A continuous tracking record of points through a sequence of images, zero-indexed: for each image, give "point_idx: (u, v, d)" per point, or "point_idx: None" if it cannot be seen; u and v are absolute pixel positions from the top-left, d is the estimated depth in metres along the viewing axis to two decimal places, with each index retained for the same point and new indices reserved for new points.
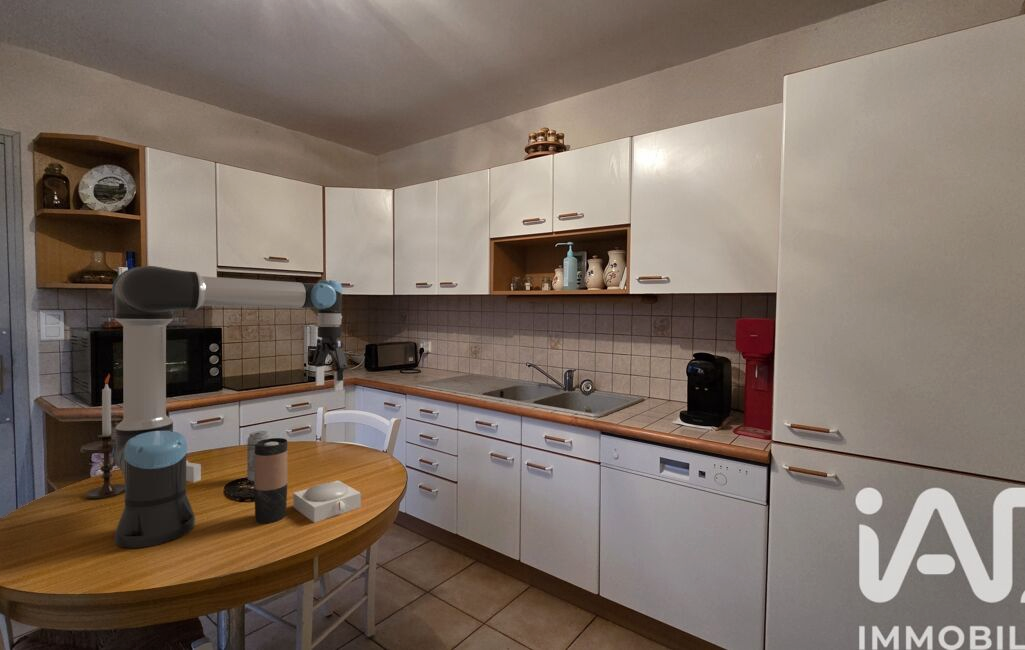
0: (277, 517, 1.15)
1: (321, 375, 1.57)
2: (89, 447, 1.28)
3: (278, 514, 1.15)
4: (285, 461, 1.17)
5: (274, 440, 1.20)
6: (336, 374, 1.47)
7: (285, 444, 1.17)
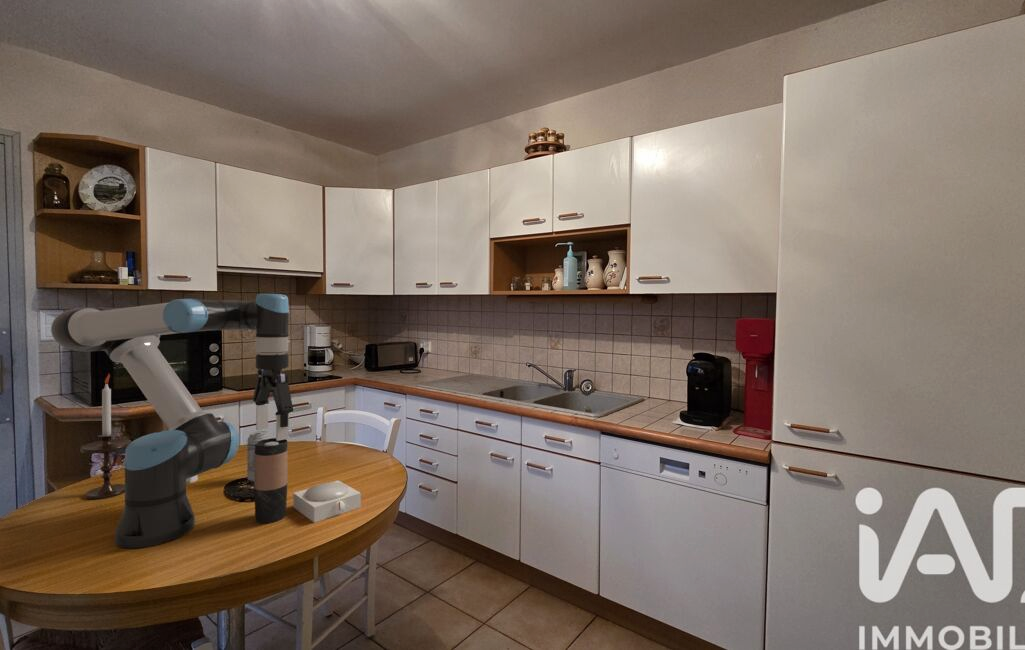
0: (277, 517, 1.15)
1: (264, 416, 1.21)
2: (89, 447, 1.28)
3: (278, 514, 1.15)
4: (285, 461, 1.17)
5: (274, 440, 1.20)
6: (279, 418, 1.11)
7: (285, 444, 1.17)
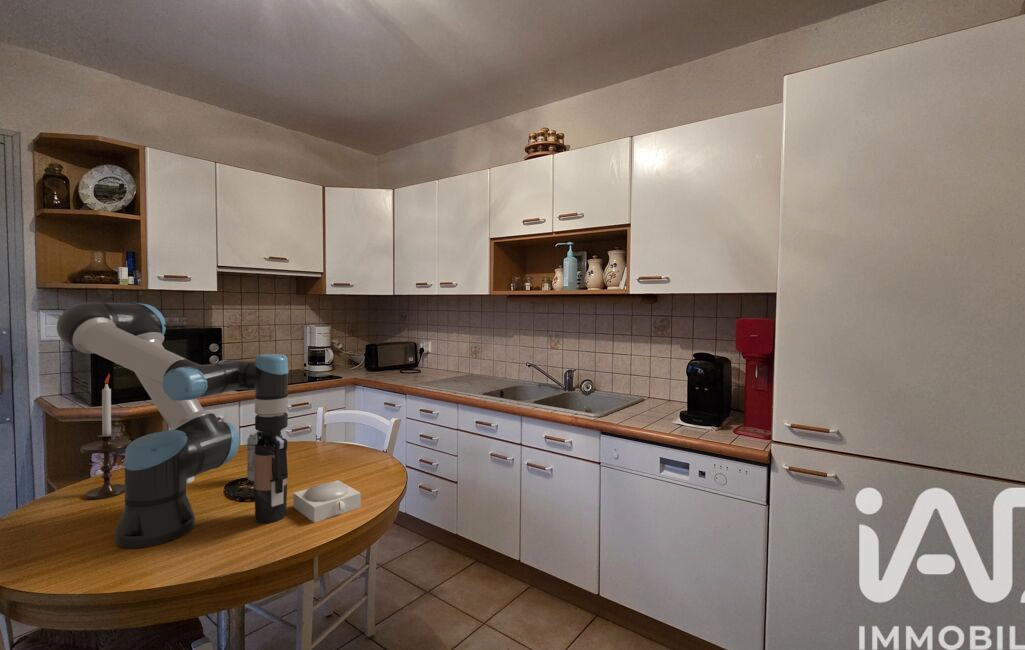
0: (277, 517, 1.15)
1: None
2: (89, 447, 1.28)
3: (278, 514, 1.15)
4: None
5: None
6: (273, 485, 1.13)
7: None
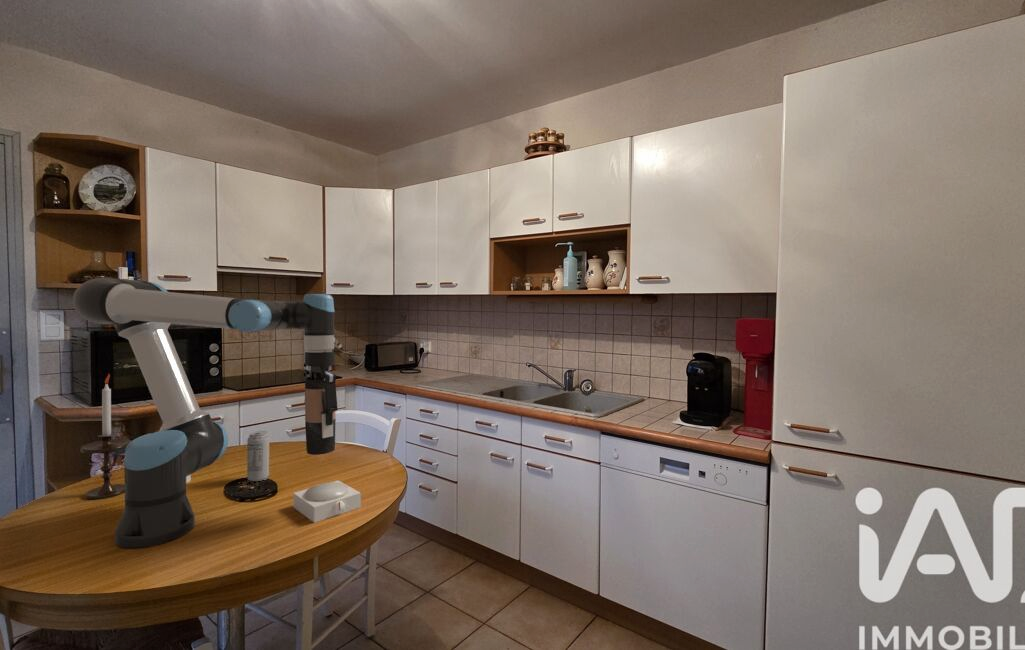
0: (327, 449, 1.20)
1: None
2: (89, 447, 1.28)
3: (328, 447, 1.20)
4: None
5: None
6: (324, 417, 1.18)
7: None
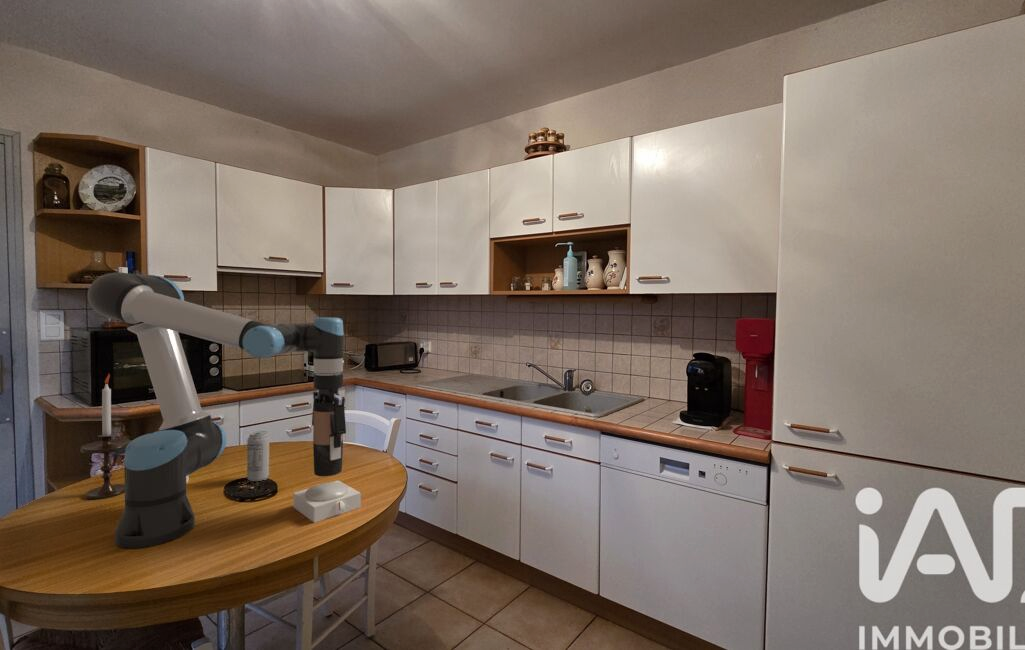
0: (335, 471, 1.22)
1: None
2: (89, 447, 1.28)
3: (336, 468, 1.22)
4: None
5: None
6: (332, 440, 1.20)
7: None
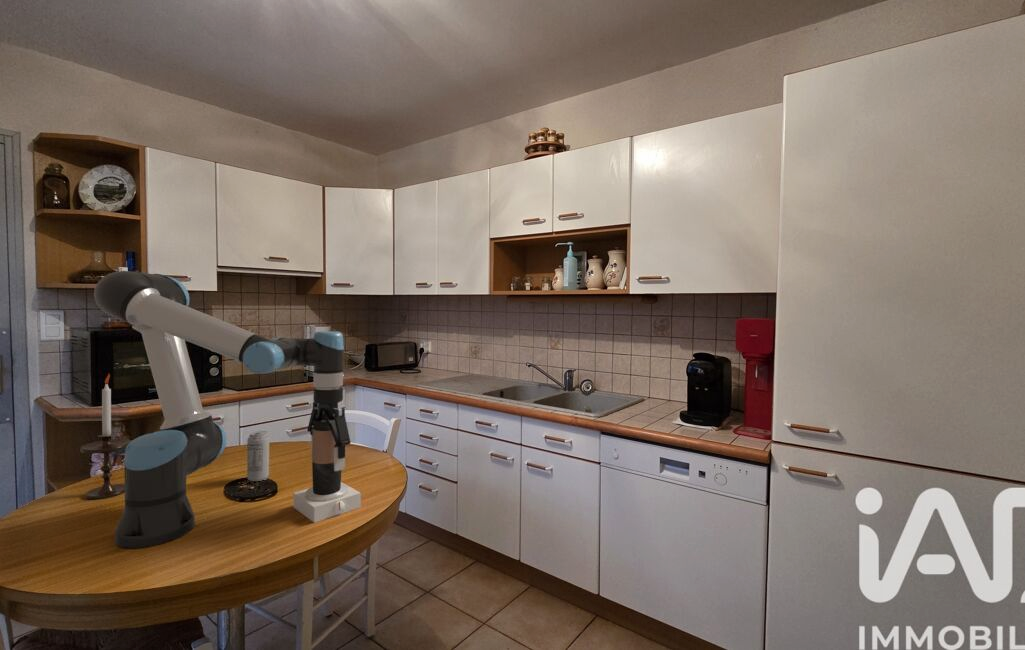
0: (334, 489, 1.22)
1: None
2: (89, 447, 1.28)
3: (335, 487, 1.22)
4: None
5: None
6: (336, 450, 1.18)
7: None
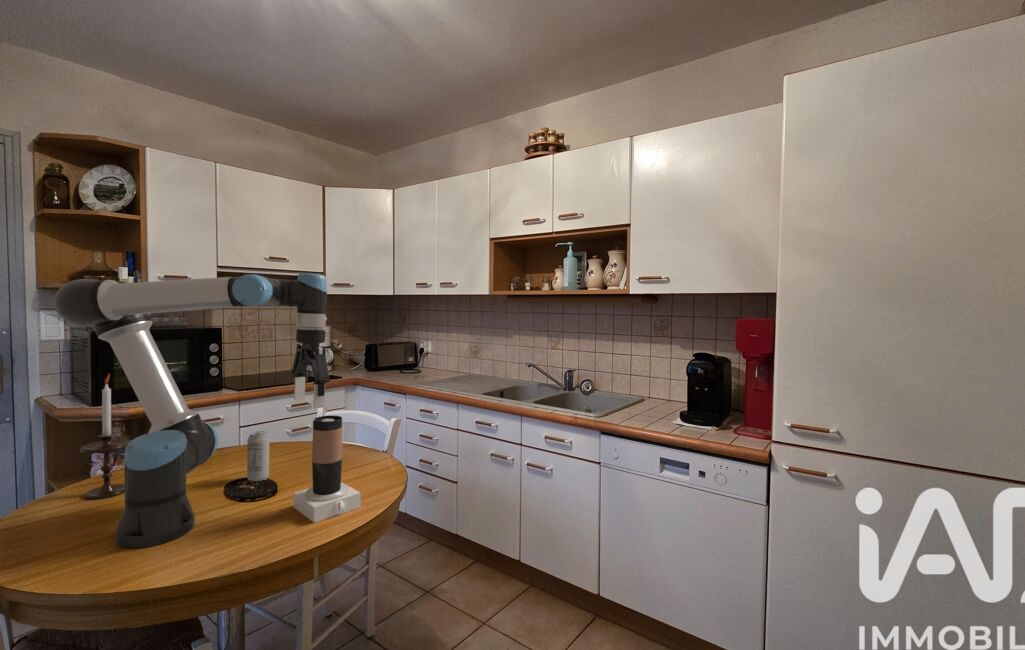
0: (334, 489, 1.22)
1: (301, 387, 1.31)
2: (89, 447, 1.28)
3: (335, 487, 1.22)
4: (341, 437, 1.23)
5: (329, 417, 1.27)
6: (316, 388, 1.21)
7: (341, 420, 1.23)
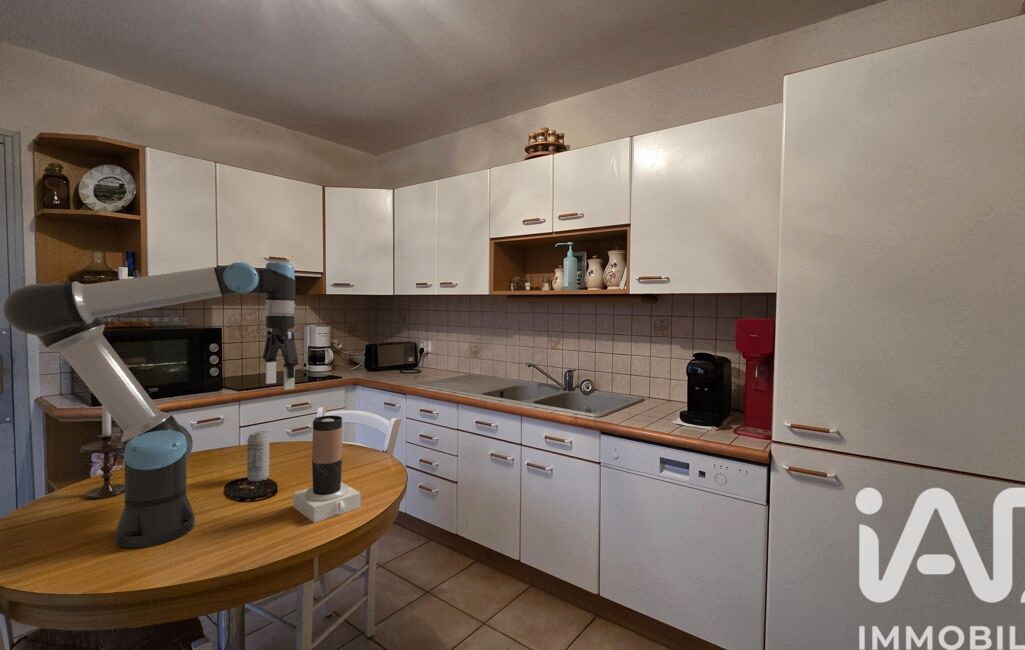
0: (334, 489, 1.22)
1: (272, 372, 1.37)
2: (89, 447, 1.28)
3: (335, 487, 1.22)
4: (340, 437, 1.23)
5: (329, 417, 1.27)
6: (286, 370, 1.27)
7: (341, 421, 1.23)
